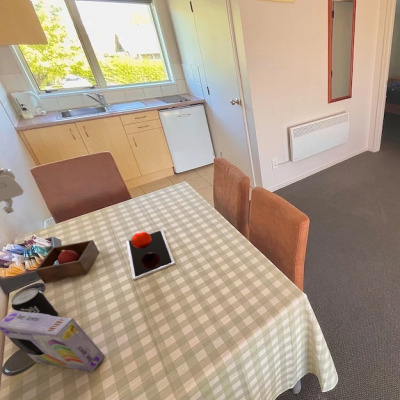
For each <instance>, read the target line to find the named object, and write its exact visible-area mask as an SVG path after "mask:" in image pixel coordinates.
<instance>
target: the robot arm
mask: <svg viewBox="0 0 400 400" xmlns="http://www.w3.org/2000/svg"><path fill="white" fill-rule="evenodd" d="M24 192H25V191H24V189H23V187H22V186H21V185H20V184H19V182H17V181H16V176H15V174H14V173H13V171H12V170H10V169H6V168H4V169H3V168H0V203H2V202H5V206H4V207H2V209H3V211H4V212H5V213H6V214H11V213H14V212H15V211H14V209H13V208H12V207H13V203H14V201H13V198H16V197H19V196H22V195H23V194H24Z"/></svg>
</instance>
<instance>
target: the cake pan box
mask: <svg viewBox="0 0 400 400" xmlns="http://www.w3.org/2000/svg"><path fill="white" fill-rule="evenodd" d="M0 332H1V333H2V334H4V335H5V336H6V338H8V339H9V340H10V341H11V342H12V343H13V344H14V345H15V346H16V347H18V349H20V350H21V351H23V352H25V353H26V354H27V355H28V356H29V358H31V359H32V360H33V361H34V362H35V363H36V364H43V365H48V366H49V365H50V366H55V367H62V368H66V369H74V370H78V371H84V372H91V373H92V372H94V370H95V369H96V368H97V367H98V366H99V365H100V364H101V363H102V361H103V360H104V359H105V358H106V355H105V354H104V353H103V352H102V350H101V349H100V348H99V347H98V346H97V345H96V343H95V342H94V341H93V339H91V338H90V336H89V335H88V334H87V333H86V332H85V330H83V328H82V327H81V326H80V325H79V323H78V322H77V321H76V320H75V319H74V317H73V318H72V317H63V316H58V317H57V316H51V315H47V314H41V313H29V312H21V311H17V310H14V309H13V310H12V311H10V312H9V313H8V314H7V315H6V316H4V318H2V319H1V320H0Z"/></svg>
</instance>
